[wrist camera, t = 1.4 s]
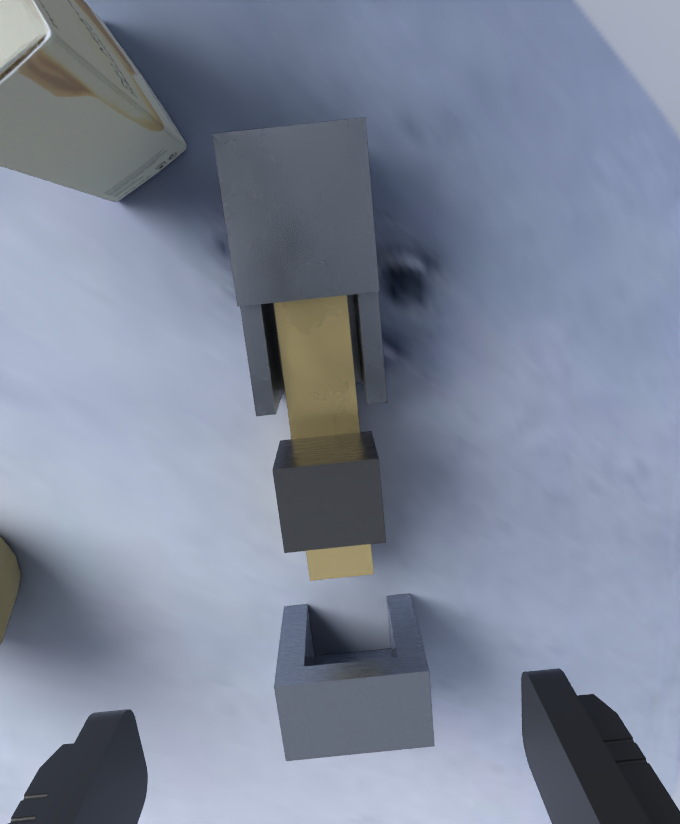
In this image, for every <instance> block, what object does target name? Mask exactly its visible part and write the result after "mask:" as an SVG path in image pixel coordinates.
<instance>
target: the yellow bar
mask: <svg viewBox="0 0 680 824" xmlns="http://www.w3.org/2000/svg"><path fill="white" fill-rule="evenodd" d="M274 309H275V317H276V324H277V332H278V340H279V347H280V355H281V363H282V370H283V378H284V385H285V393H286V401H287V408H288V416H289V424H290V431H291V440H281V441H280V443H279V447H278V451H277V455H276V459H275V462H274V466H273V476H274V483H275V490H276V497H277V504H278V511H279V518H280V525H281V532H282V539H283V546H284V553H288V552H298V551H306V553H307V561H308V569H309V576H310V581H312V580H321V579H331V578H341V577H351V576H360V575H370V574H374V572H373V562H372V551H371V544H376V543H386V537H385V526H384V514H383V503H382V492H381V480H380V469H379V458H378V455H377V451H376V447H375V443H374V439H373V435H372V431H368V432H360V427H359V417H358V406H357V396H356V386H355V375H354V365H353V355H352V344H351V334H350V323H349V313H348V303H347V295H343V296H333V297H324V298H314V299H305V300H295V301H286V302H276V303H274Z"/></svg>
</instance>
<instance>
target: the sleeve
mask: <svg viewBox="0 0 680 824" xmlns="http://www.w3.org/2000/svg"><path fill="white" fill-rule="evenodd" d="M212 137H213V144H214V150H215V157H216V164H217V171H218V177H219V184H220V191H221V198H222V204H223V211H224V218H225V225H226V231H227V238H228V245H229V252H230V258H231V265H232V272H233V279H234V285H235V292H236V299H237V306H240V309H241V315H242V322H243V329H244V336H245V343H246V349H247V356H248V363H249V370H250V377H251V383H252V390H253V397H254V404H255V411H256V416H262V415H272V414H276V412H277V409H278V406H279V403H280V400H281V397H282V394H283V391H284V390H285V385H284V378H283V370H282V363H281V355H280V347H279V340H278V332H277V324H276V317H275V309H274V303H276V302H286V301H295V300H305V299H314V298H324V297H333V296H343V295H347V303H348V313H349V323H350V334H351V344H352V355H353V365H354V375H355V383H357V382H362V386H363V389H364V393H365V396H366V400H367V403H368V404H378V403H387V392H386V380H385V368H384V356H383V343H382V331H381V319H380V307H379V295H378V292H380V290H379V278H378V266H377V253H376V241H375V229H374V216H373V204H372V192H371V180H370V167H369V155H368V143H367V130H366V118H365V117H363V118H353V119H344V120H335V121H325V122H316V123H306V124H297V125H288V126H278V127H269V128H260V129H250V130H241V131H231V132H222V133H213V134H212Z"/></svg>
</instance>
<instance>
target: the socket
mask: <svg viewBox="0 0 680 824" xmlns="http://www.w3.org/2000/svg"><path fill="white" fill-rule="evenodd" d="M387 606H388V617H389V628H390V639H391V648H390V649H380V650H371V651H361V652H351V653H341V654H331V655H322V656H314V649H313V642H312V635H311V627H310V620H309V612H308V605H307V604H306V605H296V606H286V607H284V611H283V619H282V627H281V635H280V644H279V652H278V660H277V668H276V676H275V684H274V689H275V695H276V702H277V708H278V714H279V721H280V727H281V733H282V739H283V746H284V752H285V758H286V761H292V760H302V759H312V758H322V757H331V756H341V755H351V754H361V753H371V752H381V751H391V750H401V749H411V748H421V747H431V746H434V731H433V717H432V703H431V689H430V675H429V668H428V664H427V660H426V656H425V652H424V648H423V644H422V640H421V636H420V632H419V628H418V624H417V620H416V616H415V612H414V608H413V604H412V600H411V596H410V594H404V595H394V596H387Z"/></svg>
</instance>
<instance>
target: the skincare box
mask: <svg viewBox="0 0 680 824" xmlns="http://www.w3.org/2000/svg"><path fill="white" fill-rule="evenodd" d="M186 148H187V144H186V142H185V141H184V139H183V138H182V136H181V134H180V133H179V131H178V130H177V128H176V126H175V125H174V123H173V122H172V120H171V118H170V117H169V115H168V114H167V112H166V111H165V109H164V108H163V106H162V105H161V103H160V102H159V100H158V98H157V97H156V95H155V94H154V93H153V91H152V90H151V88H150V87H149V85H148V84H147V82H146V81H145V79H144V78H143V76H142V75H141V73H140V72H139V71H138V69H137V68H136V66H135V65H134V64H133V62H132V61H131V60H130V58H129V57H128V55H127V54H126V53H125V51H124V50H123V49H122V47H121V46H120V44H119V43H118V42H117V40H116V39H115V38H114V36H113V35H112V33H111V32H110V31H109V29H108V28H107V27H106V25H105V24H104V22H103V21H102V20H101V19H100V18H99V16H98V15H97V14H96V13H95V12H94V11H93V10H92V9H91V8H90V7H89V6H88V5H87V4H86V3H85V2H84V0H0V166H1V167H5V168H8V169H11V170H15V171H18V172H21V173H24V174H27V175H31V176H34V177H37V178H40V179H43V180H47V181H50V182H53V183H56V184H59V185H62V186H65V187H69V188H72V189H75V190H78V191H81V192H84V193H88V194H91V195H94V196H97V197H100V198H103V199H107V200H110V201H113V202H118V201H119V200H121V199H122V198H124V197H125V196H126V195H128V194H129V193H131V192H132V191H133V190H135V189H136V188H138V187H139V186H140V185H142V184H143V183H145V182H146V181H147V180H149V179H150V178H151V177H153V176H154V175H155V174H157V173H158V172H159V171H161V170H162V169H163V168H165V167H166V166H167V165H168V164H169V163H171V162H172V161H173V160H174V159H175V158H177V157H178V156H179V155H180V154H181V153H183V152H184V151H185V150H186Z"/></svg>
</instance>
